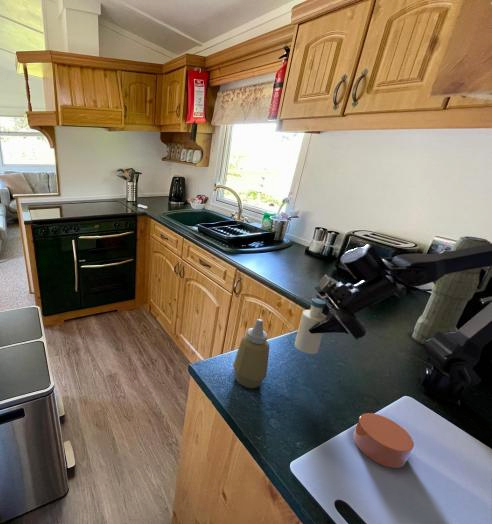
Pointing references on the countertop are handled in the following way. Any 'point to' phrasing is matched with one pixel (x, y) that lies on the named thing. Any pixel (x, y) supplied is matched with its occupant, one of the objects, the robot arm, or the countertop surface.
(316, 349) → the cream bottle
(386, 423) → the orange short round piece
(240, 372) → the squeeze bottle
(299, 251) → the countertop surface
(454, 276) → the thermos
